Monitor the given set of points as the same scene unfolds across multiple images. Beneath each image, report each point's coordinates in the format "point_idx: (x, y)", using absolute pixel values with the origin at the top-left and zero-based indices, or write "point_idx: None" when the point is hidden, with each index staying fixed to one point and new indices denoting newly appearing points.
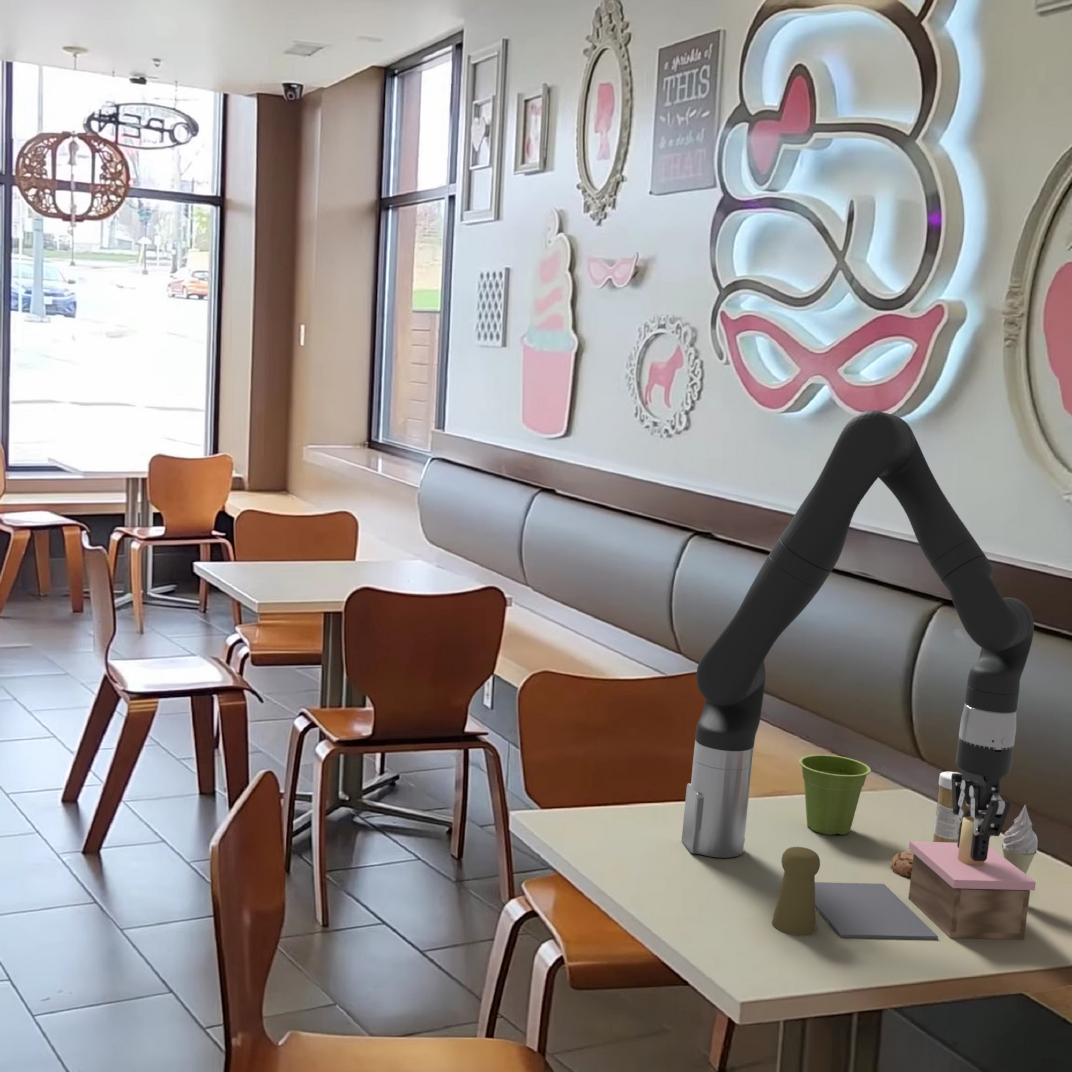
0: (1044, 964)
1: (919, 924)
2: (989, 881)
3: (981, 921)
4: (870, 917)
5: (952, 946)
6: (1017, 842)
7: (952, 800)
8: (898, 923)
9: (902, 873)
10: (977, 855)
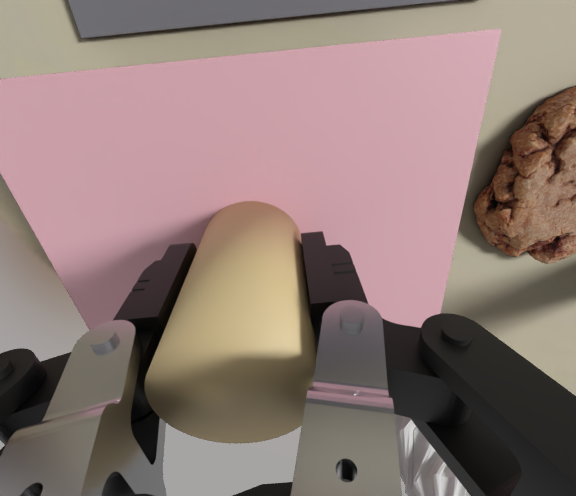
0: (47, 256)
1: (157, 3)
2: (43, 243)
3: None
4: None
5: (51, 69)
6: None
7: (560, 387)
8: None
9: (549, 101)
10: (146, 268)
